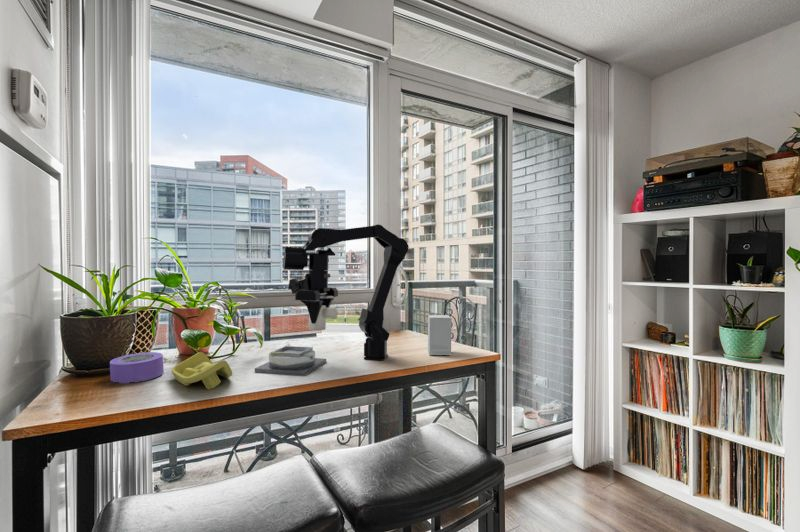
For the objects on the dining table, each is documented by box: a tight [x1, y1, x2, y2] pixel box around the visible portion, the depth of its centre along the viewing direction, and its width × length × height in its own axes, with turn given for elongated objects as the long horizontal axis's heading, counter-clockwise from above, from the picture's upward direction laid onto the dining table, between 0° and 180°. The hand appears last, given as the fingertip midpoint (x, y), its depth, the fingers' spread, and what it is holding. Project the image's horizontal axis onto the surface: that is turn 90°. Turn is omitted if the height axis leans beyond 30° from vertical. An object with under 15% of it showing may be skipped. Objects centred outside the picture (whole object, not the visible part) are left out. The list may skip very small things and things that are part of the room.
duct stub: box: [254, 345, 327, 376], centre depth 118 cm, size 15×15×5 cm
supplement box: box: [427, 314, 452, 356], centre depth 136 cm, size 7×7×13 cm
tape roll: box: [109, 351, 165, 384], centre depth 107 cm, size 12×12×5 cm
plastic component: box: [170, 351, 233, 390], centre depth 102 cm, size 20×7×10 cm
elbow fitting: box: [308, 305, 339, 331], centre depth 122 cm, size 8×5×7 cm, turn 78°
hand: (317, 322), depth 122 cm, fingers closed on elbow fitting, 5 cm apart
